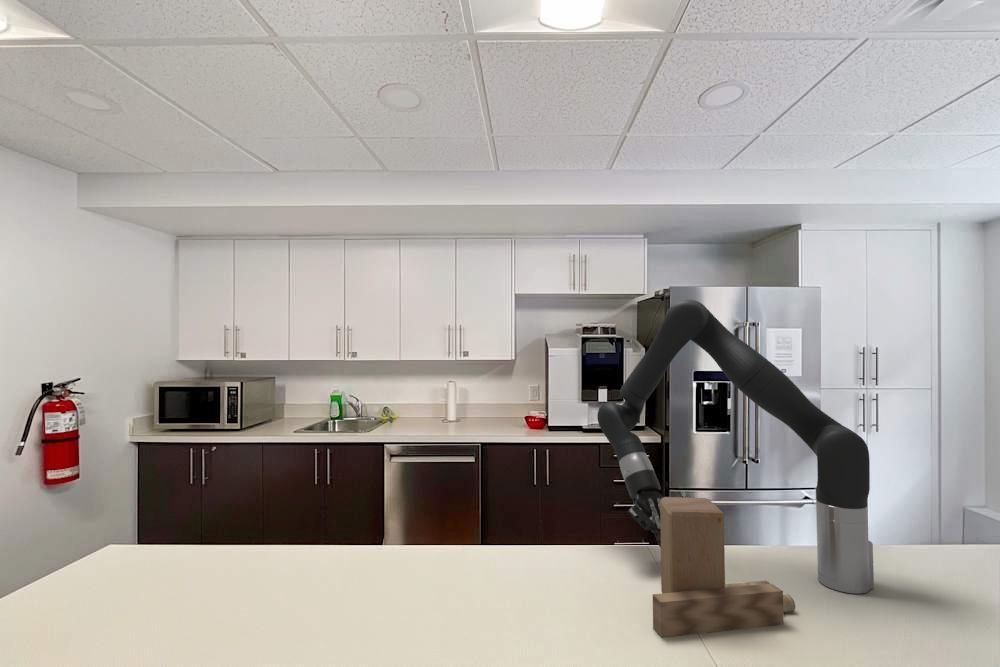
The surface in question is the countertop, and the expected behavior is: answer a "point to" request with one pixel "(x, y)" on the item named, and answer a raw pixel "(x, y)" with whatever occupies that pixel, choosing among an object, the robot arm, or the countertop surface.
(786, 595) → the roller
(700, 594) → the board
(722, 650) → the countertop surface
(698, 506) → the wooden block
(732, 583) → the roller
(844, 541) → the robot arm
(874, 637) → the countertop surface
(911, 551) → the countertop surface
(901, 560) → the countertop surface
